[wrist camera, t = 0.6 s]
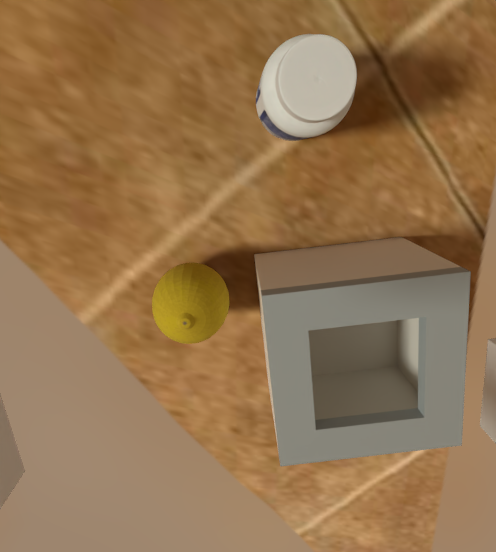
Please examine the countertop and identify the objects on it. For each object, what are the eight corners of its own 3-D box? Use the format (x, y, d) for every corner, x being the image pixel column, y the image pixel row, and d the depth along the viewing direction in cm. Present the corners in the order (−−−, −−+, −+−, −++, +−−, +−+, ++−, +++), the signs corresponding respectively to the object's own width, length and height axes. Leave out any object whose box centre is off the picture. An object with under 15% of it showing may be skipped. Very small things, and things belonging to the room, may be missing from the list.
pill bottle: (336, 128, 30) (381, 116, 21) (267, 150, 30) (281, 149, 21) (318, 50, 28) (358, 0, 19) (246, 75, 29) (251, 37, 19)
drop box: (253, 254, 33) (261, 295, 23) (401, 236, 33) (470, 271, 23) (268, 383, 36) (280, 466, 27) (401, 368, 36) (461, 445, 26)
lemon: (234, 257, 33) (234, 289, 25) (224, 320, 34) (221, 368, 27) (166, 246, 32) (145, 275, 25) (159, 310, 34) (136, 356, 26)
